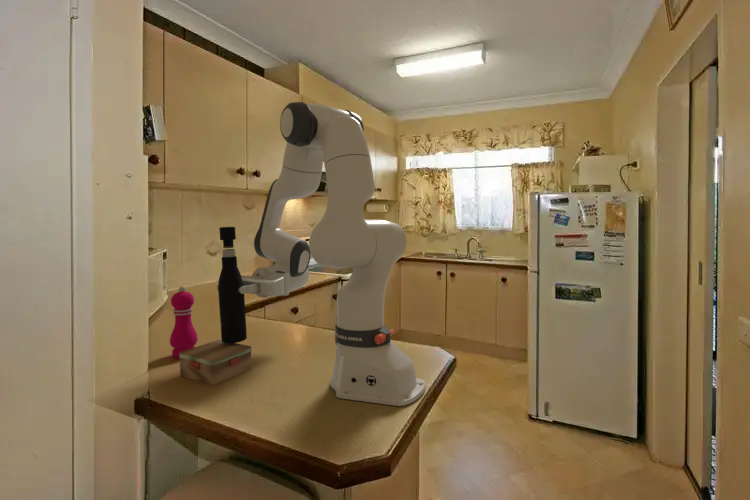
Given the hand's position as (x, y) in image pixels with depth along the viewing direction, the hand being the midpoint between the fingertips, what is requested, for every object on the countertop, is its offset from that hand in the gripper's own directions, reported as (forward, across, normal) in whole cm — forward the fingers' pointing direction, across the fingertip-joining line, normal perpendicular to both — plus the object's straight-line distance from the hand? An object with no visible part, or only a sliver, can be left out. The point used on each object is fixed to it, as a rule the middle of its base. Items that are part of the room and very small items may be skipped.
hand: (228, 289), depth 107 cm
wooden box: (+5, 0, +21) cm, 21 cm away
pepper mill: (0, -19, +21) cm, 28 cm away
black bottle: (-2, 0, +14) cm, 14 cm away
